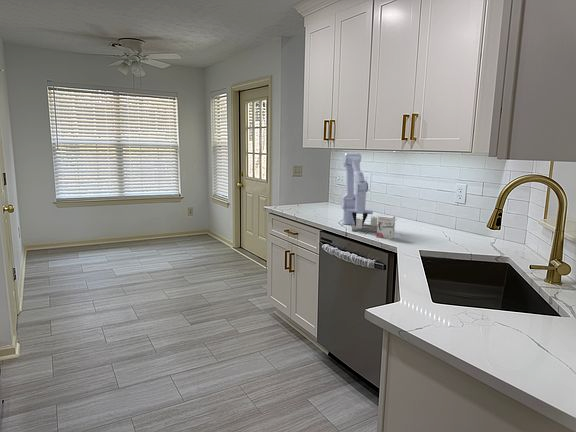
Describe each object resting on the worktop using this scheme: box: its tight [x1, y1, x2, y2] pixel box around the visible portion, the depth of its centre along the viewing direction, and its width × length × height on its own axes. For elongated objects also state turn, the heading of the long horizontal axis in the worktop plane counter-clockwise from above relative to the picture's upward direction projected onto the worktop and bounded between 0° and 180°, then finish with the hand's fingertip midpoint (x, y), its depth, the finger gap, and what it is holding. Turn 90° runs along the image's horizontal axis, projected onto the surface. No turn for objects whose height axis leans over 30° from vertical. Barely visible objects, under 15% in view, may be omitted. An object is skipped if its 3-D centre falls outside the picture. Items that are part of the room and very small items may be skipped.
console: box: [351, 223, 377, 234], centre depth 241 cm, size 17×19×1 cm
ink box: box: [376, 214, 396, 240], centre depth 221 cm, size 9×5×12 cm, turn 62°
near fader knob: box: [356, 217, 363, 229], centre depth 237 cm, size 5×4×5 cm
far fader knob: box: [369, 216, 378, 227], centre depth 245 cm, size 5×4×5 cm
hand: (359, 225), depth 237 cm, fingers closed on near fader knob, 3 cm apart
